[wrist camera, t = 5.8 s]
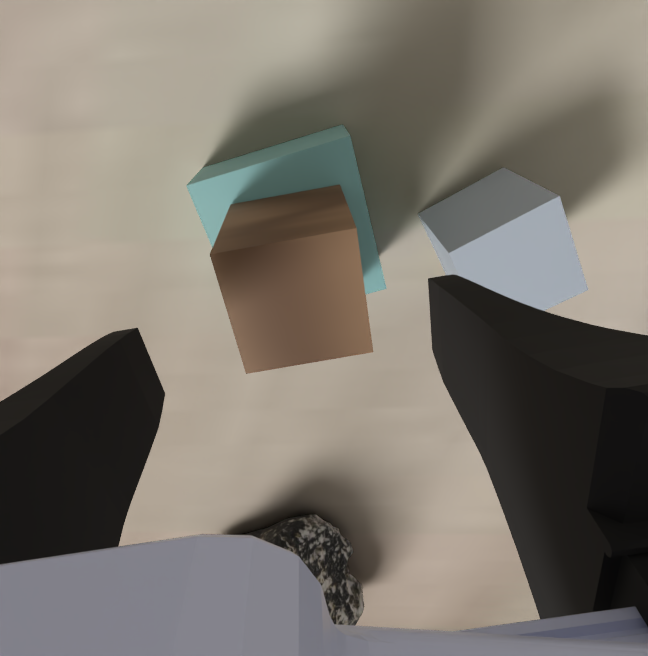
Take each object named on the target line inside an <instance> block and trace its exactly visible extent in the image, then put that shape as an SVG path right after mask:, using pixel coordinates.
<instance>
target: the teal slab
mask: <svg viewBox="0 0 648 656" xmlns="http://www.w3.org/2000/svg"><path fill="white" fill-rule="evenodd" d="M339 184H340V186H341V188H342V191H343V194H344V196H345V199H346V202H347V204H348V207H349V209H350V212H351V215H352V217H353V220H354V223H355V225H356V228H357V235H358V242H359V250H360V257H361V265H362V272H363V280H364V287H365V294H369V293H372V292H376V291H380V290H383V289H386V285H385V281H384V276H383V272H382V268H381V264H380V259H379V255H378V251H377V247H376V242H375V238H374V234H373V230H372V225H371V221H370V217H369V213H368V209H367V204H366V200H365V196H364V192H363V187H362V183H361V179H360V175H359V170H358V166H357V162H356V158H355V153H354V149H353V145H352V141H351V137H350V134H349V133H348V131H347V130H346V128H345V127H344V125H343V124H342V125H339V126H336V127H333V128H329V129H326V130H323V131H320V132H317V133H313V134H310V135H307V136H304V137H300V138H297V139H294V140H291V141H287V142H284V143H281V144H278V145H274V146H271V147H268V148H265V149H261V150H258V151H255V152H252V153H248V154H245V155H242V156H239V157H236V158H232V159H229V160H226V161H223V162H219V163H216V164H213V165H210V166H206V167H203V168H202V169H201V170H200V171H199V172H198V173H197V174H196V176H195V177H194V178H193V179H192V180H191V181H190V182H189V183H188V184H187V185H186V186H187V188H188V191H189V193H190V195H191V198H192V200H193V203H194V205H195V207H196V210H197V212H198V214H199V217H200V219H201V222H202V224H203V226H204V229H205V231H206V233H207V236H208V238H209V241H210V243H211V245H212V248H213V245H214V243H215V241H216V238H217V236H218V233H219V231H220V229H221V226H222V224H223V221H224V219H225V217H226V214H227V212H228V209H229V207H230V205H231V204H235V203H240V202H246V201H251V200H257V199H262V198H268V197H273V196H279V195H284V194H290V193H295V192H301V191H306V190H312V189H317V188H323V187H328V186H334V185H339Z"/></svg>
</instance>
